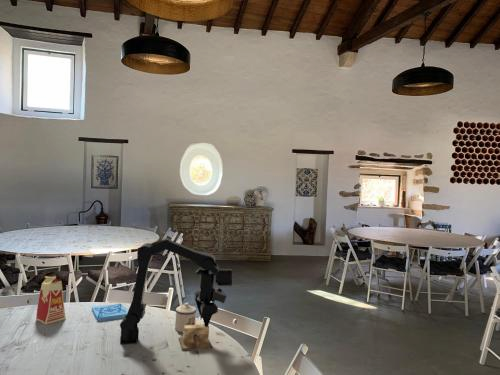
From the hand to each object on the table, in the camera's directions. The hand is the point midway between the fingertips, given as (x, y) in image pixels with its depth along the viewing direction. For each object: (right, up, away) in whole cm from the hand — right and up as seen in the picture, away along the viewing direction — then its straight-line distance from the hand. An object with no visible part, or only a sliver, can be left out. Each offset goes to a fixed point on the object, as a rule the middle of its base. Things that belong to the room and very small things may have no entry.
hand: (204, 322), depth 160 cm
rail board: (-4, -9, -1) cm, 9 cm away
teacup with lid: (-10, -8, +14) cm, 19 cm away
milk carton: (-70, -3, +13) cm, 71 cm away
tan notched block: (-4, -8, -1) cm, 9 cm away
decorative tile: (-47, -5, +24) cm, 53 cm away
